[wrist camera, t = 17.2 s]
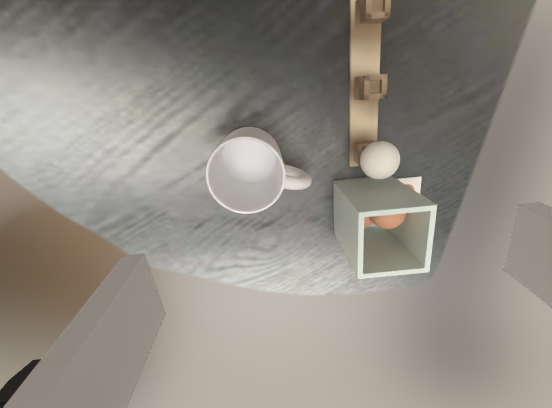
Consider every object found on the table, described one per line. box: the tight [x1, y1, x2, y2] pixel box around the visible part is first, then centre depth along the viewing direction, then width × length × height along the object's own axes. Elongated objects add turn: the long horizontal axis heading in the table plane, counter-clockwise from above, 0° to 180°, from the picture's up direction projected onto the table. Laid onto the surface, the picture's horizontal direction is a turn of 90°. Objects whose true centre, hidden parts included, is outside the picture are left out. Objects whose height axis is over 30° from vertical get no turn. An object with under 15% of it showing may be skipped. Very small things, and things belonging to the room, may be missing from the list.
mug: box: [206, 127, 312, 214], centre depth 35 cm, size 12×8×10 cm
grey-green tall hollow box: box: [333, 176, 437, 279], centre depth 37 cm, size 8×8×12 cm
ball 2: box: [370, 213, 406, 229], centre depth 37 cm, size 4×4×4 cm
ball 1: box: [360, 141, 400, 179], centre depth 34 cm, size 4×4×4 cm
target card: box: [396, 176, 421, 194], centre depth 43 cm, size 7×4×1 cm, turn 5°
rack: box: [349, 0, 391, 167], centre depth 35 cm, size 20×4×4 cm, turn 5°
